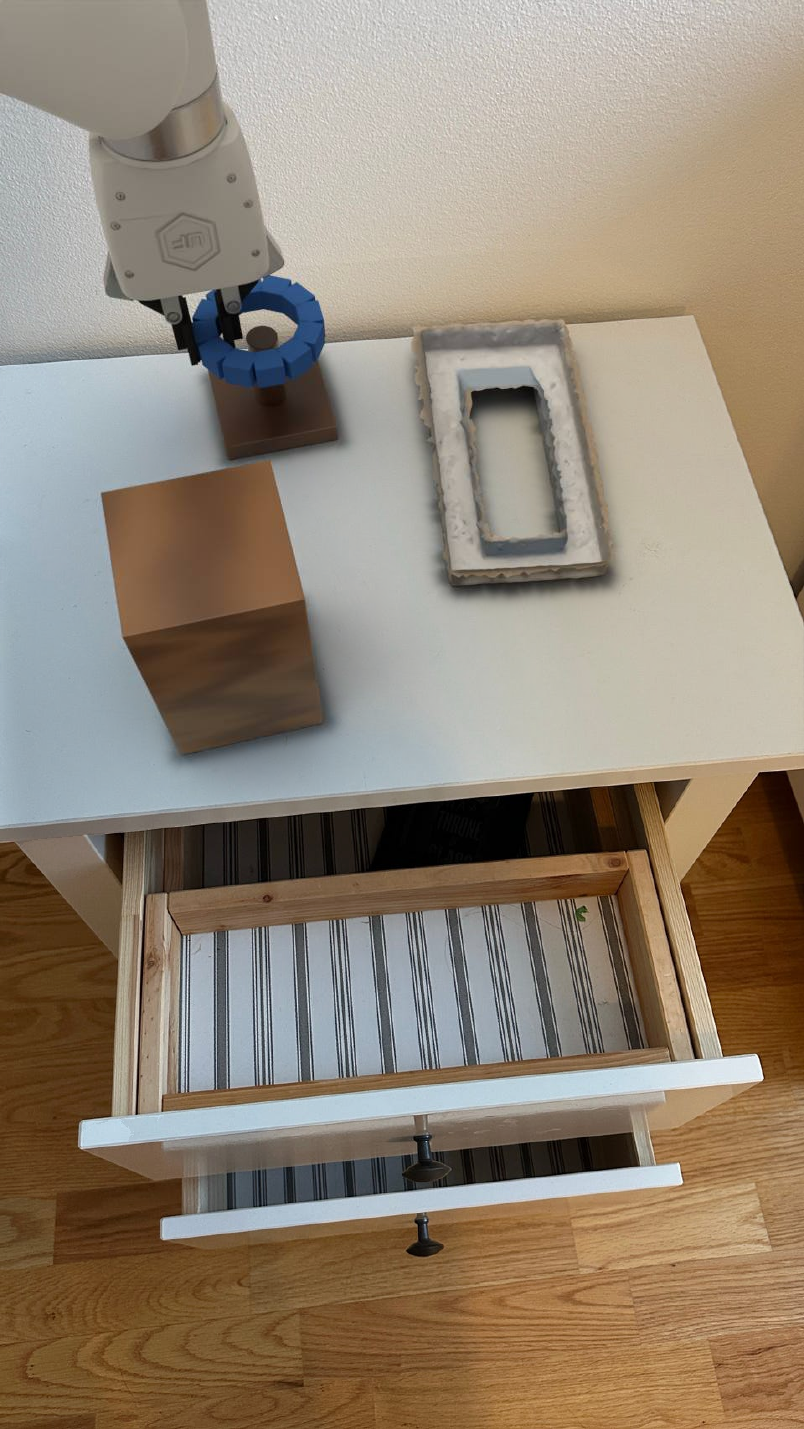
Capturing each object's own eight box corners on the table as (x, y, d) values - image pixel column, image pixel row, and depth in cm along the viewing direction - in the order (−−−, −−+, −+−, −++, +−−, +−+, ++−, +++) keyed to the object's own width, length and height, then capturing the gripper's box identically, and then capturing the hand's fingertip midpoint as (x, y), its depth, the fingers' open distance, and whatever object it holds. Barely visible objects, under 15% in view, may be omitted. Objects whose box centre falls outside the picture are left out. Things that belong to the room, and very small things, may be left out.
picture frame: (561, 343, 84) (566, 315, 81) (619, 585, 73) (627, 563, 70) (407, 354, 83) (407, 326, 81) (442, 600, 72) (443, 578, 70)
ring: (207, 398, 71) (203, 380, 70) (187, 306, 75) (182, 287, 74) (336, 374, 72) (335, 356, 71) (309, 284, 76) (307, 265, 75)
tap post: (228, 460, 78) (212, 391, 71) (209, 378, 82) (193, 305, 75) (338, 439, 79) (333, 369, 72) (315, 359, 83) (308, 285, 76)
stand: (180, 755, 67) (122, 637, 52) (160, 632, 71) (100, 492, 57) (324, 723, 68) (305, 599, 54) (295, 604, 72) (270, 459, 58)
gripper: (24, 168, 54) (111, 405, 71) (305, 124, 56) (326, 365, 73) (13, 86, 58) (99, 331, 74) (280, 47, 59) (305, 295, 76)
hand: (211, 347), depth 73 cm, fingers closed on ring, 2 cm apart
